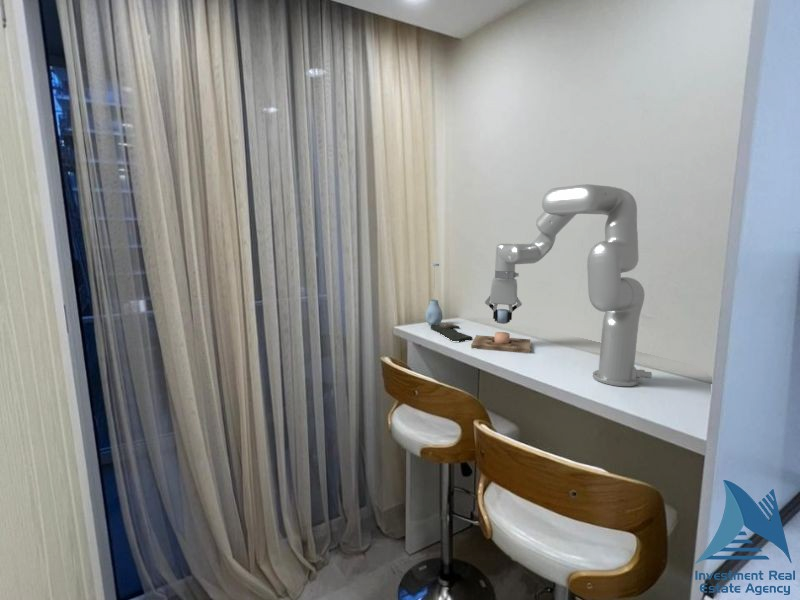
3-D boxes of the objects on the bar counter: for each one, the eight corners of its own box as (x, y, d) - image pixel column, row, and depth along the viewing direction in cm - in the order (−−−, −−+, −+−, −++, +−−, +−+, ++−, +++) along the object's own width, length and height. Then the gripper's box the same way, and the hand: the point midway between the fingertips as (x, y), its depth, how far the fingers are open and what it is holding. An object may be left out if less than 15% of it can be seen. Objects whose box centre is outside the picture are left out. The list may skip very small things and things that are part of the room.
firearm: (485, 336, 176) (454, 339, 170) (485, 341, 176) (454, 344, 171) (453, 322, 202) (425, 324, 196) (453, 326, 202) (425, 329, 197)
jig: (530, 342, 171) (530, 339, 171) (530, 353, 156) (530, 349, 156) (476, 338, 178) (476, 335, 178) (471, 348, 163) (471, 344, 162)
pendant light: (435, 322, 209) (436, 263, 204) (445, 325, 202) (447, 264, 197) (422, 324, 205) (423, 263, 200) (431, 327, 198) (433, 264, 193)
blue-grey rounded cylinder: (508, 321, 167) (508, 309, 166) (507, 324, 163) (508, 311, 162) (496, 320, 168) (497, 308, 168) (496, 323, 164) (496, 310, 163)
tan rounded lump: (509, 344, 169) (510, 332, 168) (508, 348, 163) (509, 335, 163) (494, 343, 170) (495, 331, 170) (493, 346, 165) (494, 334, 164)
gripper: (527, 275, 164) (524, 320, 167) (483, 273, 169) (481, 317, 172) (527, 277, 157) (524, 324, 160) (481, 275, 162) (479, 321, 165)
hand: (502, 320), depth 166 cm, fingers closed on blue-grey rounded cylinder, 4 cm apart
